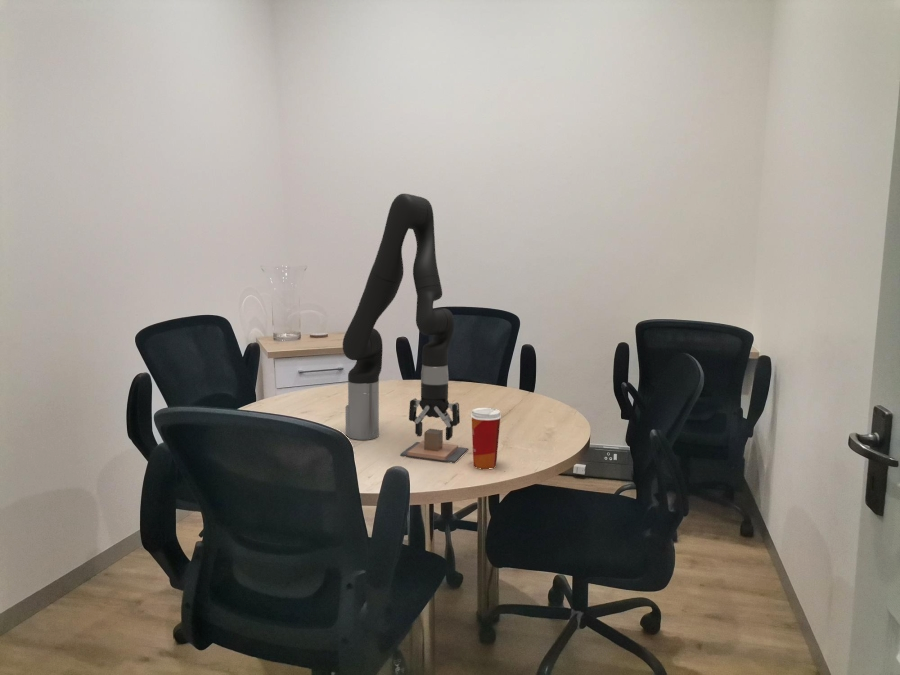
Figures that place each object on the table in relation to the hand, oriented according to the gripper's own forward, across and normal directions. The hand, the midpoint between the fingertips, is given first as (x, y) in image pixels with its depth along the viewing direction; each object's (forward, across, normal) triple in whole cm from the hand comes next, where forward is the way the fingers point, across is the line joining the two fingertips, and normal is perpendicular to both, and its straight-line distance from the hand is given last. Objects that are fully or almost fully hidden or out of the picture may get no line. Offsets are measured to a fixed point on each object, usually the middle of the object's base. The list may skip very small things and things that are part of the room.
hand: (433, 437), depth 172 cm
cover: (+4, 0, 0) cm, 4 cm away
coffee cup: (+5, +16, -4) cm, 17 cm away
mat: (+5, 0, +1) cm, 5 cm away
